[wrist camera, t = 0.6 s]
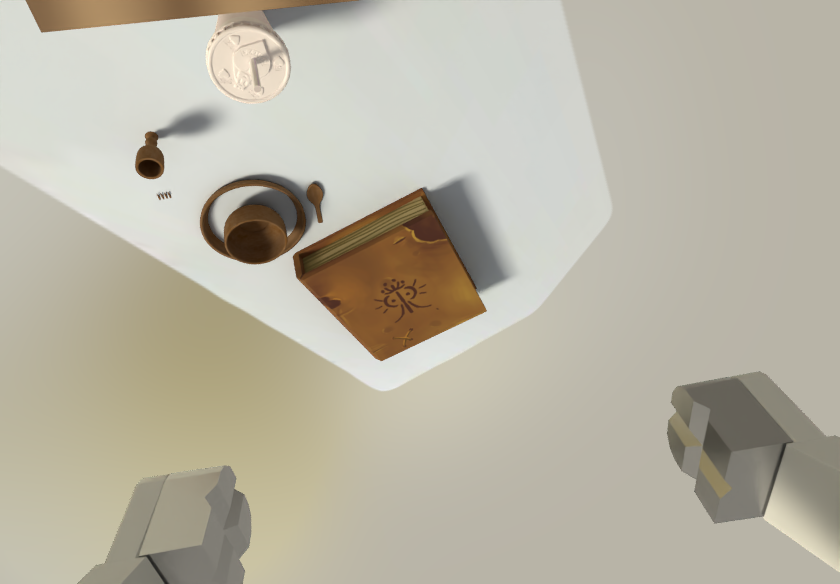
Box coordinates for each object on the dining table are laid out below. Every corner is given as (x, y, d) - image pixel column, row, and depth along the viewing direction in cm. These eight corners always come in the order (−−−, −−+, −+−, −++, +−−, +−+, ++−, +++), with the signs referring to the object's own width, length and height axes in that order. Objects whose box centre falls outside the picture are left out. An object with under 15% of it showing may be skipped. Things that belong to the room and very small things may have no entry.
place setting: (191, 265, 70) (192, 300, 66) (125, 124, 55) (121, 159, 51) (331, 237, 73) (339, 269, 69) (304, 96, 58) (312, 127, 54)
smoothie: (290, 1, 50) (313, 78, 41) (260, 62, 54) (275, 146, 45) (220, -40, 47) (228, 35, 38) (191, 29, 50) (193, 113, 41)
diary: (291, 251, 73) (297, 282, 69) (420, 184, 71) (433, 213, 67) (369, 335, 90) (377, 364, 87) (474, 284, 88) (487, 312, 84)
